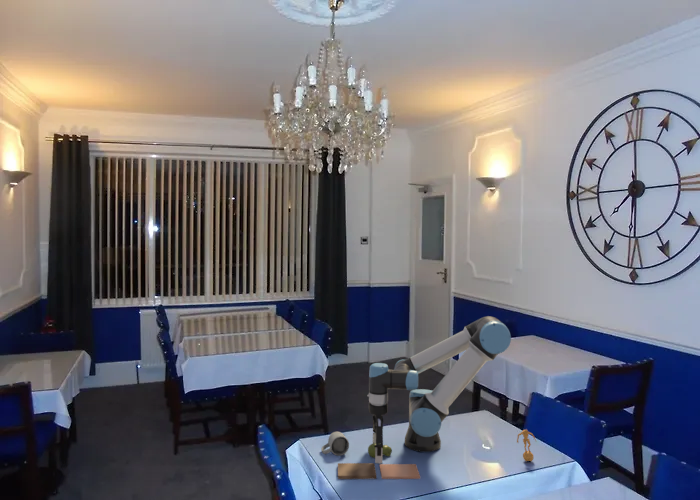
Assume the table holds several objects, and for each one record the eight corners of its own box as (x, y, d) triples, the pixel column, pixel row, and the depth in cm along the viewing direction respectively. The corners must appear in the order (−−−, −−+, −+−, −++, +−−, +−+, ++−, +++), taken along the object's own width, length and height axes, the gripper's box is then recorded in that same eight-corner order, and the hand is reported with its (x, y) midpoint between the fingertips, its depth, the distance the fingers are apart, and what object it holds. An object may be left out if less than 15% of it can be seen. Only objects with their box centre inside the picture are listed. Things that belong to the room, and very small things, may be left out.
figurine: (520, 464, 202) (521, 434, 202) (513, 457, 208) (514, 428, 208) (540, 462, 204) (541, 432, 203) (532, 456, 210) (533, 426, 209)
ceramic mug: (344, 446, 217) (344, 428, 217) (349, 454, 209) (349, 436, 209) (319, 449, 214) (319, 431, 214) (323, 457, 206) (323, 438, 206)
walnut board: (374, 466, 199) (374, 463, 199) (376, 478, 189) (376, 475, 189) (337, 466, 199) (337, 463, 199) (337, 478, 189) (338, 475, 189)
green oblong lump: (366, 441, 209) (389, 441, 213) (364, 454, 209) (386, 454, 213) (372, 446, 204) (395, 447, 208) (370, 459, 204) (392, 460, 207)
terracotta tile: (415, 466, 200) (415, 464, 199) (420, 478, 190) (420, 476, 190) (379, 466, 199) (379, 464, 199) (381, 478, 189) (381, 476, 189)
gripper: (366, 393, 219) (366, 442, 220) (371, 413, 195) (370, 469, 196) (384, 393, 220) (383, 442, 220) (390, 413, 195) (389, 469, 196)
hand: (377, 455), depth 208 cm, fingers open, 12 cm apart
